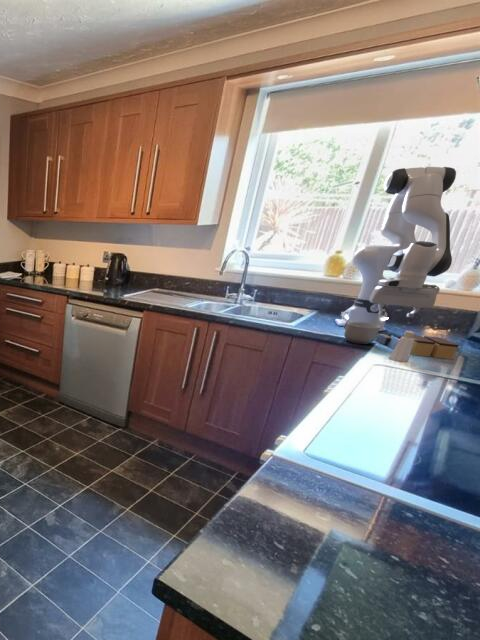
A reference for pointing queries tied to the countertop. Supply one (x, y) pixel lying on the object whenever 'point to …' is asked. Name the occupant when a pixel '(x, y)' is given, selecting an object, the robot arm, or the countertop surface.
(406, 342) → the pepper shaker
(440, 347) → the two-panel tan box
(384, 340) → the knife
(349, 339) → the teacup
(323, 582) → the countertop surface
